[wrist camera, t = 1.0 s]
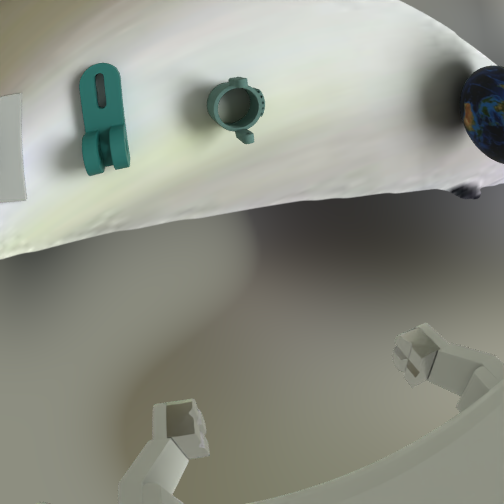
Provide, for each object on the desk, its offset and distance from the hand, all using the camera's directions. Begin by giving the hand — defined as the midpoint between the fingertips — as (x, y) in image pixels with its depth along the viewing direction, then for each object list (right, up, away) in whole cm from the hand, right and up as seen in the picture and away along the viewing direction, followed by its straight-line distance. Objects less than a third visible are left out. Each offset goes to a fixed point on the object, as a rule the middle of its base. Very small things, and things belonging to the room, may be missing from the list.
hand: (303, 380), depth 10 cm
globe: (+65, +53, +54) cm, 100 cm away
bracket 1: (-26, +28, +31) cm, 49 cm away
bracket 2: (-6, +31, +38) cm, 49 cm away
